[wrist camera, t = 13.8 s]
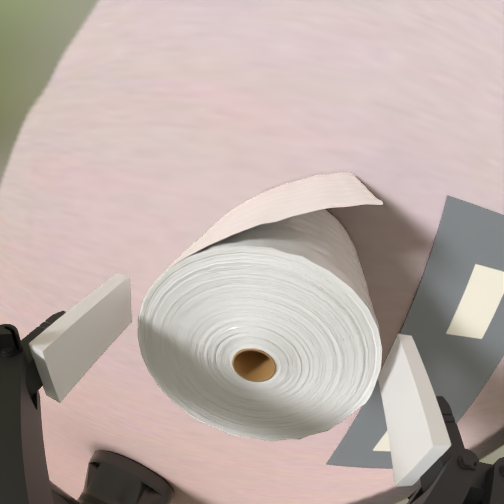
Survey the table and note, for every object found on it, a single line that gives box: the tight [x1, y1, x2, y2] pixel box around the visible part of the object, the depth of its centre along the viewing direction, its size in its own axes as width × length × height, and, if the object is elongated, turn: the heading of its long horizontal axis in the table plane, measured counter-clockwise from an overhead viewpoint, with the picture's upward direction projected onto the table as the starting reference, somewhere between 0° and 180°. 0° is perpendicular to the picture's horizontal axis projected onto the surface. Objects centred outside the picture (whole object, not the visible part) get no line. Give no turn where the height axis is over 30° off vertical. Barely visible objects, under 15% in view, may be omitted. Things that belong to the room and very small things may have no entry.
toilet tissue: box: [138, 172, 383, 441], centre depth 17 cm, size 11×12×10 cm
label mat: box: [326, 196, 504, 469], centre depth 22 cm, size 30×12×1 cm, turn 171°
